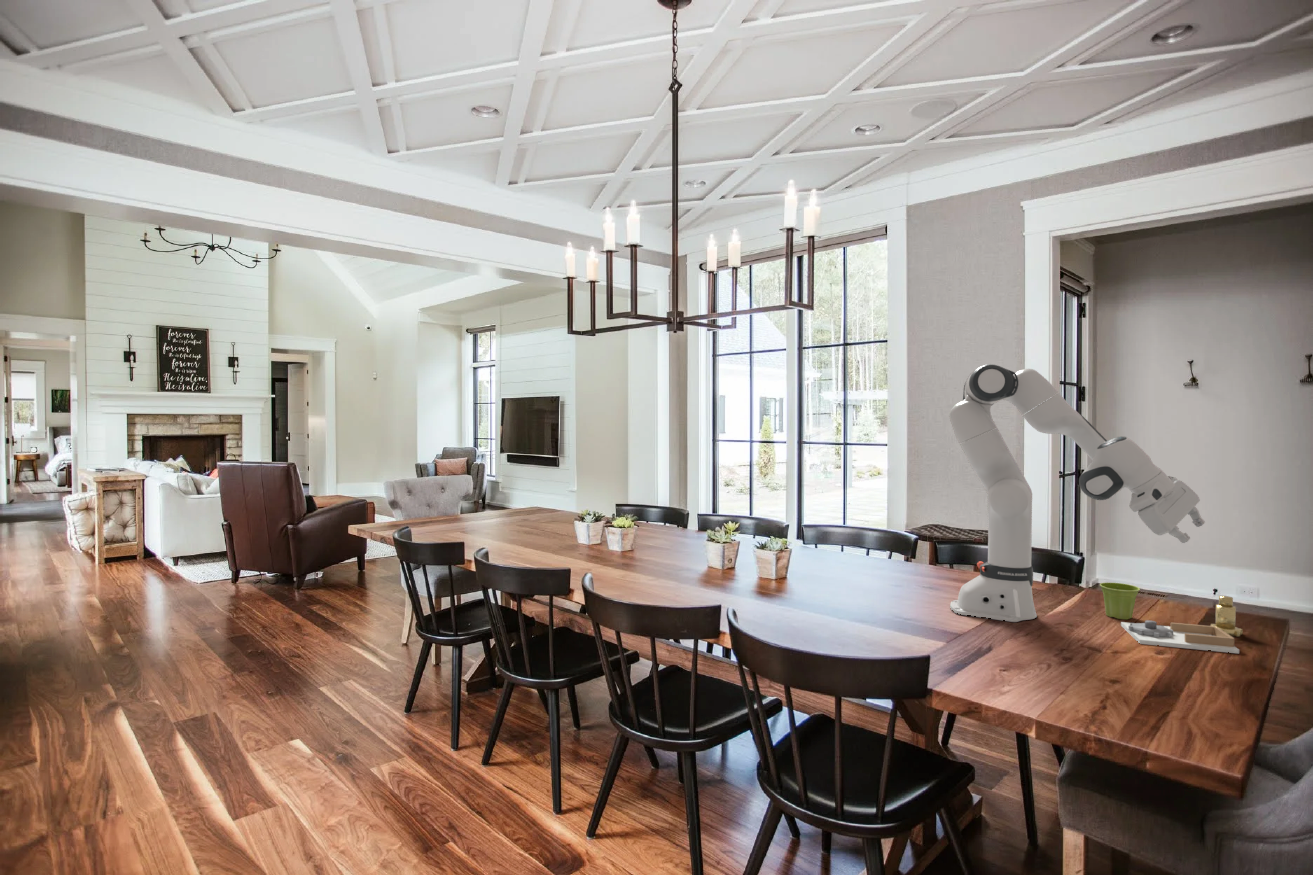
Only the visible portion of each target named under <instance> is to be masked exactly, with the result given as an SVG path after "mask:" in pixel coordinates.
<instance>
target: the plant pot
mask: <svg viewBox="0 0 1313 875" xmlns="http://www.w3.org/2000/svg"><path fill="white" fill-rule="evenodd" d="M1099 587H1100V588H1101V592H1102V594H1103V603H1104V609H1105V610H1104V612H1105V615H1106V616H1107V617H1109V618H1115V619H1118V620H1130V619H1132V618H1133V615H1134V614H1133V613H1134V609H1135V603H1136V600H1137V599H1136V598H1137V596H1138V593H1139V591H1140V590H1141V587H1139V586H1136V585H1132V584H1129V583H1121V582H1101V583H1099Z"/></svg>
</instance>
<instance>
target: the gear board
mask: <svg viewBox="0 0 1313 875" xmlns="http://www.w3.org/2000/svg"><path fill="white" fill-rule="evenodd" d="M1120 626H1121V628H1123V629H1124V630H1125V631H1126V632H1127V633H1128V634H1129V635H1130V636H1131V637H1132V639H1134V640H1135V641H1136V642H1137V641H1138V642H1137V643H1138V644H1139V643H1140V645H1149V646H1157V645H1159V647H1168V648H1169V647H1170V648H1181V649H1191V650H1200V651H1208V650H1211V651H1210V652H1221V653H1228V652H1229V653H1231V654H1240V649H1239V648H1237V646H1235V637H1234V636H1230V635H1229V634H1227V633H1226V632H1224V631H1223V630H1221V629H1220V628H1218V627H1215V626H1211V625H1203V624H1191V623H1181V622H1170V626H1169V625H1158V623H1157V621H1155V620H1150V619H1146V620H1144V622H1141V623H1140V622H1136V623H1135V622H1125V621H1121V622H1120ZM1229 653H1228V654H1229Z"/></svg>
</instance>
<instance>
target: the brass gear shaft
mask: <svg viewBox="0 0 1313 875" xmlns="http://www.w3.org/2000/svg"><path fill="white" fill-rule="evenodd" d="M1233 601H1234V598H1233V597H1232V596H1229V595H1228V596H1227V595H1218V604H1215V623H1210V626H1215V627H1218V628H1220V629H1221V630H1223V631H1224V632H1226V633H1227V634H1229V635H1230V636H1232V637H1241V635H1243V628H1239V627H1237V626H1236V615H1237V614H1236V612H1237V610H1236V609H1237V607H1236V606H1234V602H1233Z"/></svg>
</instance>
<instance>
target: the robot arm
mask: <svg viewBox="0 0 1313 875" xmlns="http://www.w3.org/2000/svg"><path fill="white" fill-rule="evenodd" d="M962 394H963V396H962V400H961V401H959V402H957V403H955V405H953V407H952V408H950V411H949V415H948V417H949V421H950V424H951V428H952V430H953V432H954V435H955V437H956V439H957V441H958V443H959V446H960V448H961V450H962V452H963V454H964V455H965V457H966V459H967V461H968V463H969V465H970V467H971V469H972V470H973V471H974V473H975V475H976V477H977V478H978V480H979V481H980V483H981V485H982V487H983V488H984V490H985V492H986V493H987V533H988V534H987V535H988V536H987V537H988V538H987V561H986V562H983V561H978V562H977V563H976V566H977V568H978V569H979V575H978V576H975V577H974V578H972V579H970V580H969V581H967V582H965V583H964V584H962V586H961V587H960V589H959V592H958V597H957V599H954V600H952V601H950V603H949V604H950V605H949V608H951V609H950V610H951V611H952V610H953V611H954V612H953V611H952V612H953V613H954V614H957V613H958V614H957V615H960V614H961V615H962V616H967V615H971V616H970V617H974V616H976V617H975V618H981V617H986V618H985V619H988V618H991V619H990V620H996V621H1003V620H1005V622H1011V623H1017V622H1021V621H1026V620H1027V621H1028V620H1033V619H1035V618H1037V617H1038V616H1037V615H1038V614H1037V613H1036V612H1037V610H1036V608H1035V604H1034V599H1033V598H1034V597H1033V589H1032V586H1033V584H1034V567H1033V566H1032V536H1033V534H1032V533H1033V532H1032V531H1033V530H1032V527H1033V526H1032V522H1033V519H1032V518H1033V492H1032V488H1031V487H1030V484H1029V483H1028V481H1027V479H1026V477H1025V476H1024V474H1023V472H1022V470H1021V468H1020V467H1019V465H1018V463H1017V462H1016V460H1015V458H1014V456H1013V455H1012V453H1011V451H1010V449H1009V448H1008V446H1007V443H1006V441H1005V440H1004V438H1003V436H1002V434H1001V432H1000V430H999V428H998V426H997V424H996V423H995V421H994V420H993V418H992V414H991V408H992V406H993V405H995V404H996V403H998V402H1000V401H1007V402H1009V403H1010V404H1012V405H1013V406H1014V407H1016V409H1017V410H1018V411H1019V413H1020V414H1021V415H1022V417H1023V419H1025V421H1026V422H1027V424H1029V425H1030V426H1031V427H1032V428H1033V429H1034V430H1036V431H1037V432H1039V433H1043V434H1047V435H1048V434H1050V435H1055V434H1056V435H1057V434H1058V435H1063V436H1065V437H1068V438H1070V440H1072V441H1074V443H1075V444H1076V445H1077V446H1079V448H1080V449H1081V450H1082V451H1083V452H1084V453H1085V454H1086V455H1087V456H1088V457H1089V459H1090V461H1091V462H1090V463H1089V464H1088V465H1087V467H1086V468H1085V469H1084V471H1082V473H1081V474H1080V476H1079V478H1078V484H1079V485H1078V486H1079V487H1080V490H1081V491H1082V492H1083V493H1084V495H1086V497H1088V498H1090V499H1093V500H1096V501H1105V500H1106V501H1107V500H1108V499H1110V498H1113V497H1114V496H1116V495H1118V493H1119V492H1120V491H1121V490H1123V489H1124V488H1127V489H1128V490H1129V491H1130V493H1131V500H1130V503H1129V509H1130V510H1131V511H1133V512H1134V513H1137V514H1138V515H1137V516H1138V517H1139V519H1140V520H1141V521H1142V522H1143V523H1144V524H1145V525H1146V527H1147V528H1148V529H1149V530H1150V531H1151V532H1152V533H1153V534H1155V535H1157V536H1164V535H1166V534H1169V535H1170V536H1173V537H1175V538H1177V539H1178V541H1180V543H1181V544H1185V543H1188V542H1189V541H1190V540H1191V537H1190V536H1189V535H1188V533H1187V532H1182V530H1180V528H1179V527H1178V526H1177V525H1178V524H1179V523H1180V522H1181V521H1182V520H1183V519H1185V517H1186V516H1187V515H1189V516H1190V518H1191V519H1192V521H1191V523H1192V524H1194V526H1195V527H1196V528H1200V527H1203V525H1204V524H1205V523H1206V521H1205V520H1204V519H1203V518H1202V517H1201V516H1202V515H1201V514H1200V511H1199V509H1198V508H1197V507H1196V506H1197V504H1199V502H1200V501H1201V499H1200V497H1199V495H1198V494H1197V493H1196V492H1195V491H1194V490H1193V489H1191V487H1190V486H1189V485H1188V484H1186V483H1185V482H1184V481H1183V480H1180V479H1178V478H1176V477H1174V476H1170V475H1169V476H1168V475H1167V474H1166V473H1165V472H1164V470H1162V469H1161V468H1160V467H1158V466H1157V465H1155V464H1154V463H1153V461H1152V460H1151V457H1150V456H1149V455H1148V454H1147V453H1146V451H1145V450H1144V449H1142V448H1141V447H1140V446H1139V444H1137V443H1136V442H1135V441H1133V440H1132V439H1130V438H1129V437H1127V436H1116V437H1113V438H1110V439H1108V440H1107V439H1106V438H1105V437H1104V436H1103V435H1102V433H1101V432H1099V431H1098V430H1097V429H1096V428H1095V427H1094V426H1093V424H1091V422H1089V420H1088V419H1086V417H1084V416H1083V415H1082V414H1080V412H1078V411H1077V410H1076V409H1075V408H1073V407H1072V406H1071V404H1069V403H1068V402H1067V400H1066V399H1065V398H1064V397H1063V396H1062V394H1061V393H1060V392H1059V391H1058V390H1057V389H1056V387H1055V386H1054V385H1053V384H1052V383H1051V382H1050V381H1049V380H1048V379H1047V378H1045V377H1044V376H1043V375H1042V374H1041V373H1039V372H1038V370H1035V369H1033V368H1024V369H1023V368H1022V369H1020V370H1017V371H1016V372H1015V371H1013V370H1009V369H1007V368H1005V367H1002V366H1000V365H998V364H991V363H990V364H989V363H987V364H984V365H981V366H979V367H977V368H976V369H974V370H973V371H972V372H971V373H970V374H969V375H968V376H967V378H966V381H965V383H964V385H963V393H962Z"/></svg>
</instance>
